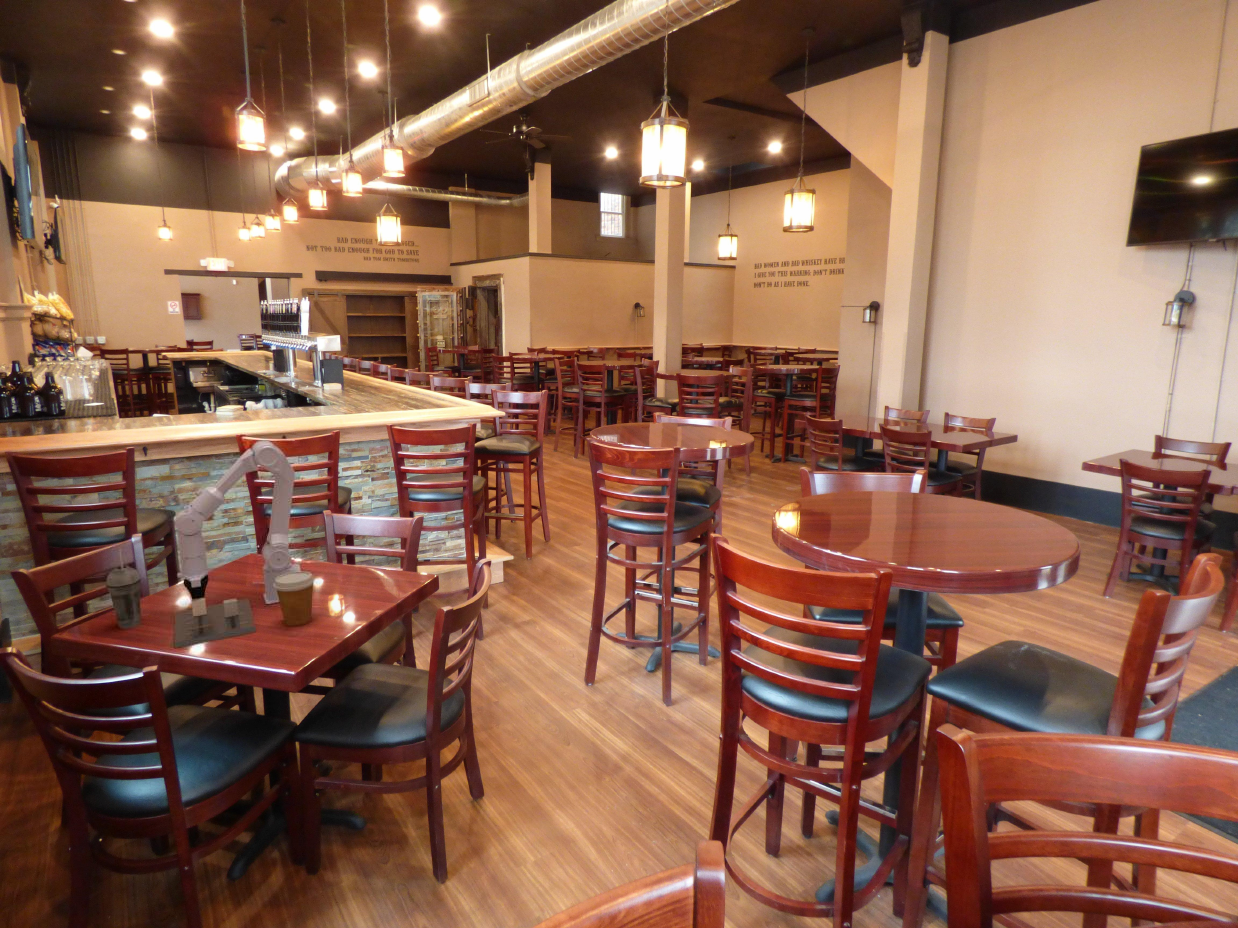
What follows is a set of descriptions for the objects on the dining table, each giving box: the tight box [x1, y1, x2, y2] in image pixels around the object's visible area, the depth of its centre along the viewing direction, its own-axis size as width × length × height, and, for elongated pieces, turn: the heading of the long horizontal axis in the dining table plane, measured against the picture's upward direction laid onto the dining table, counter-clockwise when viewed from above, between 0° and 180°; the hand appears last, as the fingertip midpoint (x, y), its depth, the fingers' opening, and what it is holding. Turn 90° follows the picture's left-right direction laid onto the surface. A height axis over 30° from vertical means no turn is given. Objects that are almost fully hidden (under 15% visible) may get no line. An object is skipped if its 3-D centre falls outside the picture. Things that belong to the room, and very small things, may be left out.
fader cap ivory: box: [190, 597, 207, 617], centre depth 181 cm, size 3×2×4 cm, turn 121°
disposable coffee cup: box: [274, 570, 316, 627], centre depth 180 cm, size 10×10×12 cm
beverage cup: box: [105, 548, 142, 630], centre depth 177 cm, size 7×7×20 cm
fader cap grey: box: [222, 598, 239, 618], centre depth 181 cm, size 3×2×4 cm, turn 121°
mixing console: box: [174, 598, 256, 649], centre depth 179 cm, size 17×21×2 cm
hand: (199, 604), depth 186 cm, fingers closed
